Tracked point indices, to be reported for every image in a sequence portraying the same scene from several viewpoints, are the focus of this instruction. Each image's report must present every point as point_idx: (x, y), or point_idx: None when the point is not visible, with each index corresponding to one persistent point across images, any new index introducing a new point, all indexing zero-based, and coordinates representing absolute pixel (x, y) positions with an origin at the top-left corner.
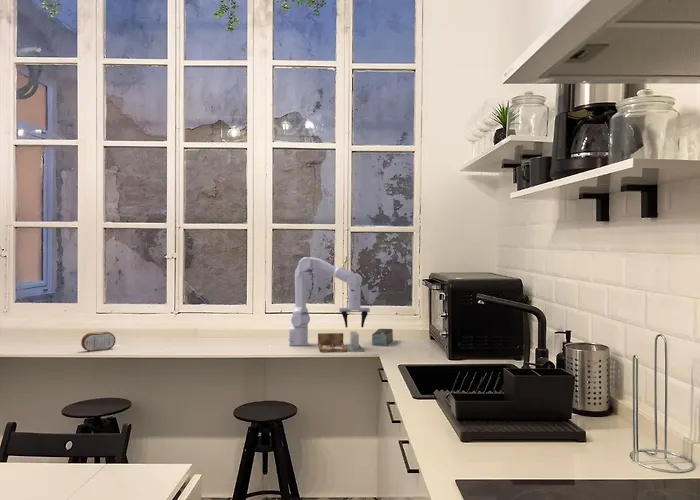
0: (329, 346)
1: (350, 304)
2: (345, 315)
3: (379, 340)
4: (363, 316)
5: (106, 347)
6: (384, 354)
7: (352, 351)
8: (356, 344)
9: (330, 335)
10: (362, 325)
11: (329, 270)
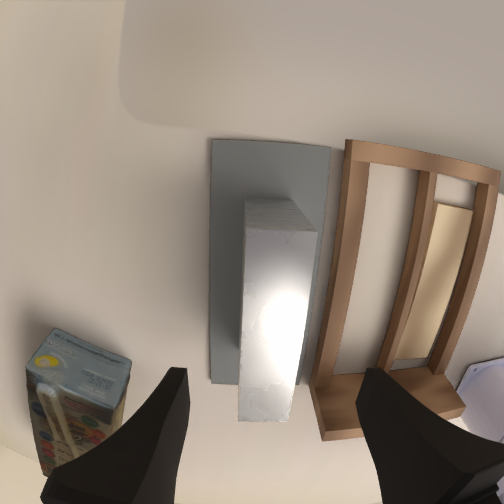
0: (410, 321)
1: None
2: (473, 452)
3: (81, 364)
4: (131, 466)
5: None
6: (96, 27)
7: (303, 145)
8: (265, 205)
9: None
10: (175, 378)
11: None
